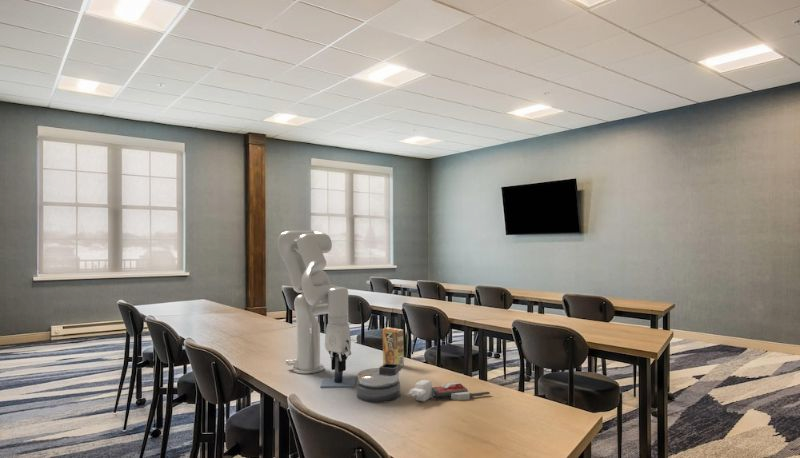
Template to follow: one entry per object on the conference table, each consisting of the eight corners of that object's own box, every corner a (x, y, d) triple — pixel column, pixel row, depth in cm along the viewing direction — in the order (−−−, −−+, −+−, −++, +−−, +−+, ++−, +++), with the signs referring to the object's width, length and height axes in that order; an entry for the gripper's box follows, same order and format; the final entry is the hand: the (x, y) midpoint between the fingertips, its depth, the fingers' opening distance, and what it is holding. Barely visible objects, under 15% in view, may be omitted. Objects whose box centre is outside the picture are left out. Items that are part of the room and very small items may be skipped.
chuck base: (355, 403, 153) (355, 390, 153) (357, 388, 168) (357, 377, 168) (401, 402, 153) (401, 389, 153) (399, 387, 168) (399, 376, 168)
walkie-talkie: (436, 404, 152) (491, 398, 158) (435, 390, 152) (491, 385, 158) (426, 395, 161) (479, 389, 167) (426, 382, 161) (479, 377, 167)
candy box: (404, 365, 197) (404, 329, 198) (397, 367, 194) (397, 330, 195) (388, 362, 203) (388, 326, 204) (382, 364, 200) (381, 328, 200)
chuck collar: (390, 390, 152) (390, 375, 152) (351, 386, 156) (351, 371, 156) (403, 378, 165) (403, 364, 165) (367, 375, 169) (367, 361, 170)
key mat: (320, 387, 169) (320, 386, 169) (323, 379, 179) (323, 377, 179) (353, 387, 169) (353, 385, 169) (355, 379, 179) (355, 377, 179)
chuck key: (337, 383, 172) (338, 355, 172) (332, 381, 174) (333, 354, 174) (344, 381, 174) (344, 354, 174) (339, 380, 176) (340, 353, 176)
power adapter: (417, 408, 148) (417, 389, 148) (404, 405, 151) (404, 386, 151) (434, 397, 157) (433, 380, 158) (421, 395, 160) (421, 378, 160)
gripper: (316, 319, 177) (316, 368, 177) (344, 324, 166) (345, 376, 165) (332, 317, 183) (332, 364, 182) (360, 321, 171) (361, 372, 171)
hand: (338, 369), depth 174 cm, fingers closed on chuck key, 3 cm apart
